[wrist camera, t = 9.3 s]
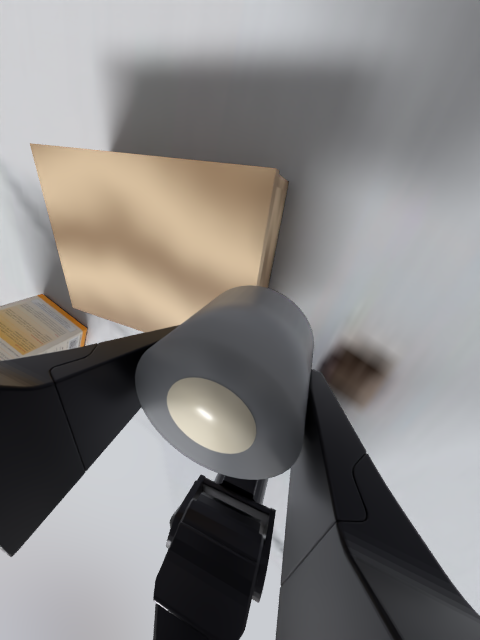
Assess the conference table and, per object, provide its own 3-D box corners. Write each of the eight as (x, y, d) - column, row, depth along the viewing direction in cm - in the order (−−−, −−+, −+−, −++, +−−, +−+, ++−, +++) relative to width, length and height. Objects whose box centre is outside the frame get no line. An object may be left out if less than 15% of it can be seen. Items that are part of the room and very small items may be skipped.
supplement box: (42, 316, 33) (-102, 368, 22) (43, 292, 31) (-119, 337, 20) (84, 349, 33) (-38, 419, 22) (89, 328, 30) (-47, 395, 19)
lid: (246, 359, 17) (243, 365, 16) (81, 304, 21) (72, 307, 20) (279, 170, 11) (276, 168, 10) (43, 146, 15) (29, 143, 15)
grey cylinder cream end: (294, 399, 11) (275, 504, 7) (200, 364, 12) (139, 436, 8) (332, 304, 8) (334, 386, 4) (208, 271, 10) (125, 312, 6)
